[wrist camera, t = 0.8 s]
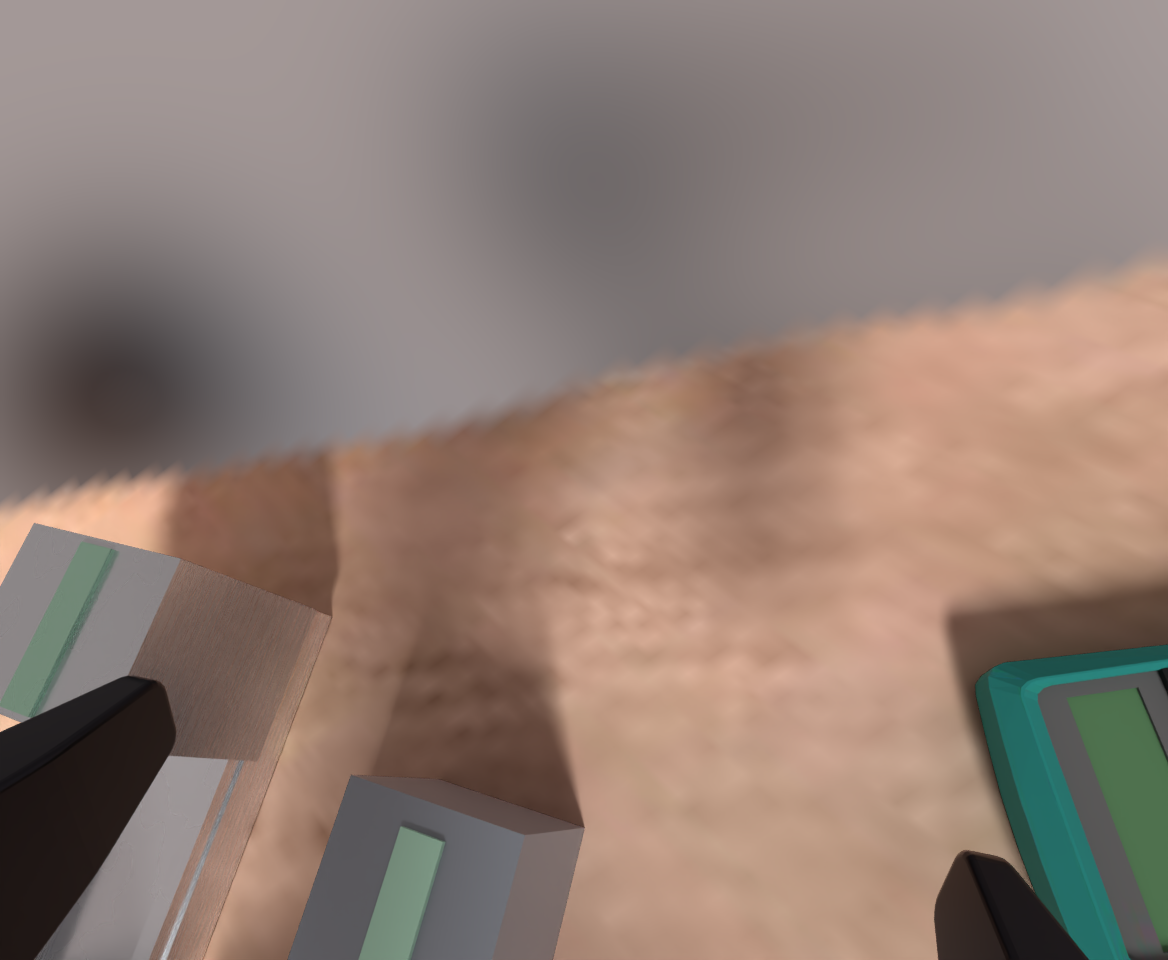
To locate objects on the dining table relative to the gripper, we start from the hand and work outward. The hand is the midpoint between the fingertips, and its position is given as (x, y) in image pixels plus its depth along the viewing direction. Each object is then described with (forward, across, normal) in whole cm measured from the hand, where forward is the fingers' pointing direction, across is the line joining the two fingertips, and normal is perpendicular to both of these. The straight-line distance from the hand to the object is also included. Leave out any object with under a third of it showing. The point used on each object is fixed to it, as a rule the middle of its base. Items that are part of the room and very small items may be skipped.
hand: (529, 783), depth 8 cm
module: (+7, +3, +14) cm, 16 cm away
